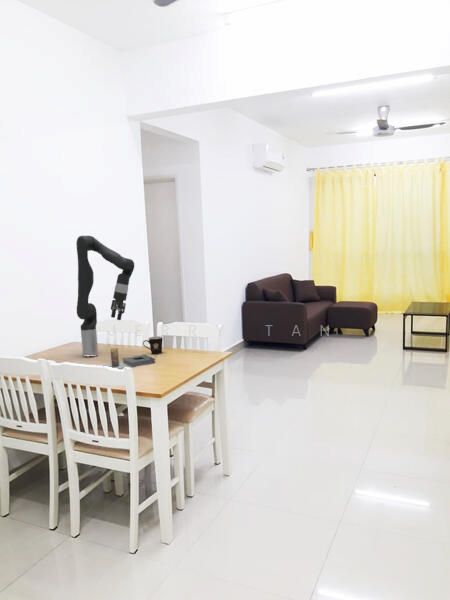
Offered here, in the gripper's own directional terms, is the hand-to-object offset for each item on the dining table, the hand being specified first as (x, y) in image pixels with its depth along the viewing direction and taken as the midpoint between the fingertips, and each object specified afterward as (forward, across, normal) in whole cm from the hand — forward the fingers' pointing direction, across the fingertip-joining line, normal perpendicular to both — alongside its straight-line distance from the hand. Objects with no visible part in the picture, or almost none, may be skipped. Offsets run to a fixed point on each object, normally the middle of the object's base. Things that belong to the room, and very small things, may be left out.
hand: (115, 318), depth 288 cm
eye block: (+22, +15, +12) cm, 30 cm away
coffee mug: (+19, 0, +30) cm, 36 cm away
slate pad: (+26, +14, -1) cm, 29 cm away
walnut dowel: (+25, +14, -1) cm, 29 cm away
